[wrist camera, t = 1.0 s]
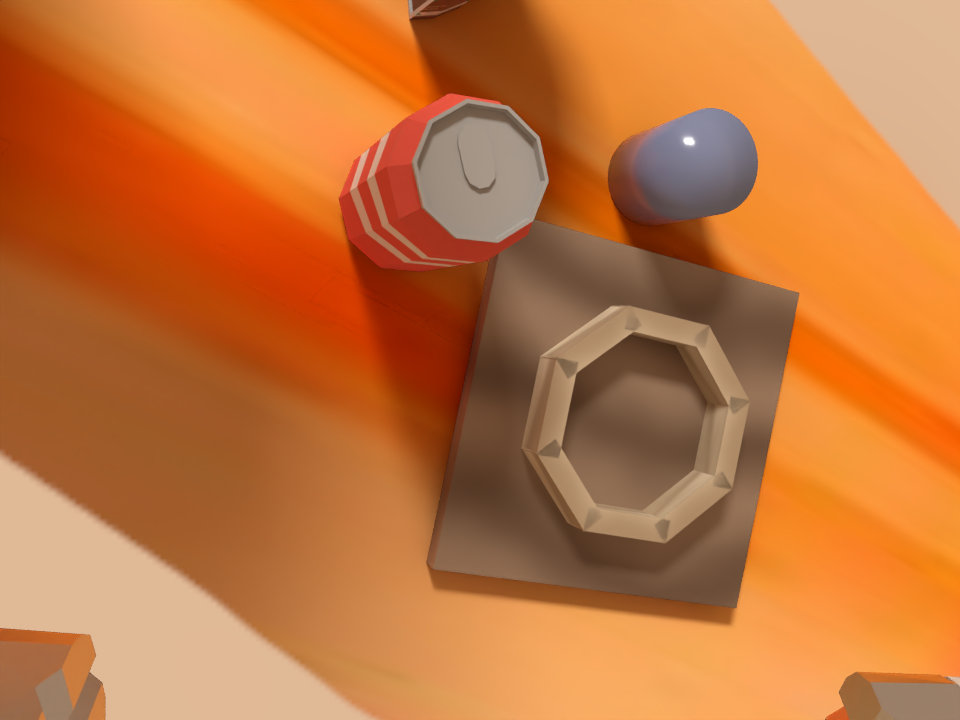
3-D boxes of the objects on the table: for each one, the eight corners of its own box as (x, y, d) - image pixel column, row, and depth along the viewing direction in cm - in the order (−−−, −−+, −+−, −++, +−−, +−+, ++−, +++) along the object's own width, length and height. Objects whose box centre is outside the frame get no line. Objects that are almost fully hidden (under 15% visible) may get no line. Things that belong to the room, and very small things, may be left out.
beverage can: (444, 132, 44) (539, 69, 33) (472, 259, 45) (575, 240, 34) (324, 154, 42) (382, 95, 31) (357, 286, 43) (424, 276, 32)
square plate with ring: (498, 214, 45) (522, 207, 42) (785, 293, 51) (824, 292, 48) (426, 563, 45) (445, 580, 42) (723, 601, 51) (758, 619, 48)
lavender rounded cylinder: (618, 121, 47) (679, 95, 42) (697, 147, 49) (766, 125, 43) (599, 213, 47) (658, 199, 41) (679, 236, 49) (746, 226, 43)
